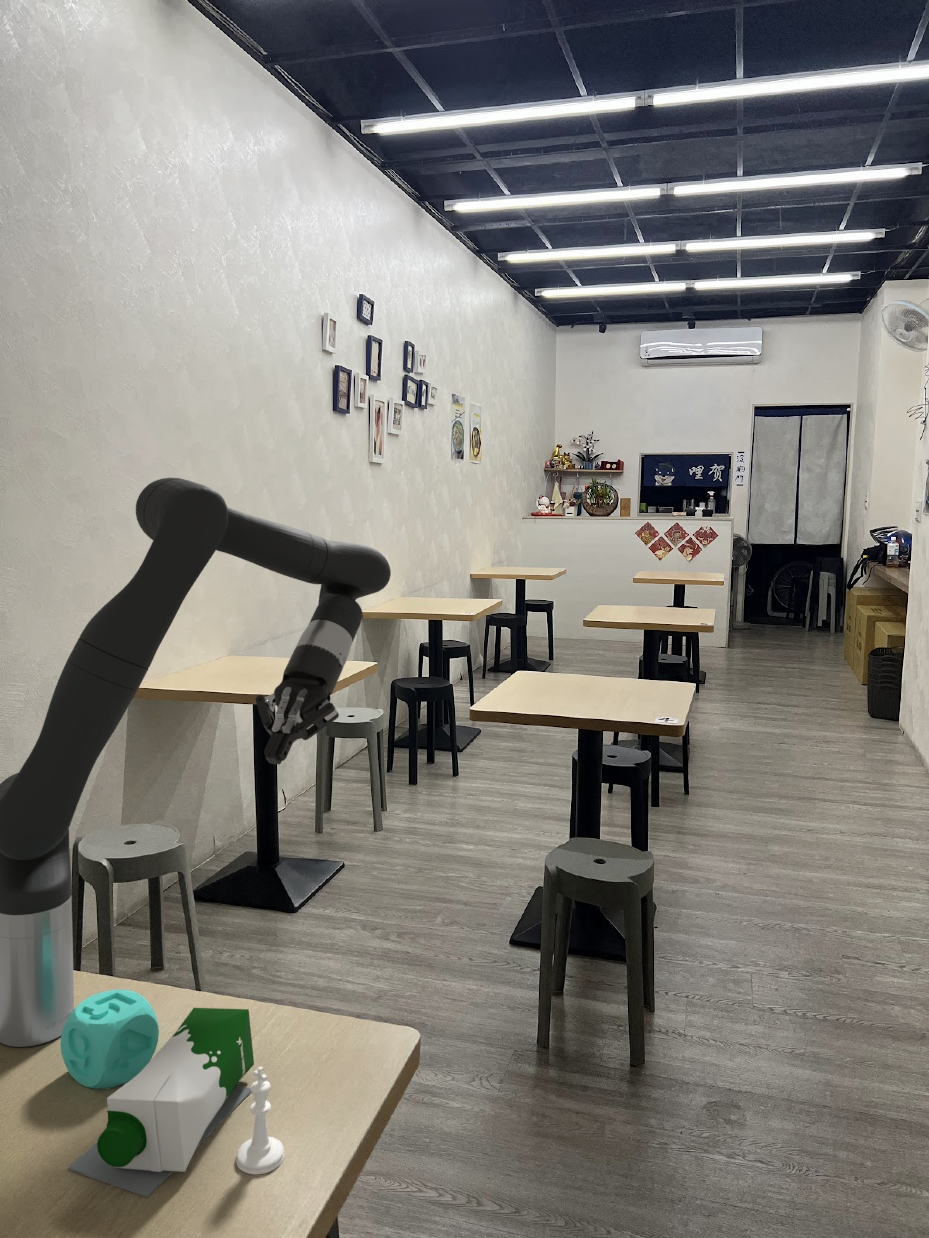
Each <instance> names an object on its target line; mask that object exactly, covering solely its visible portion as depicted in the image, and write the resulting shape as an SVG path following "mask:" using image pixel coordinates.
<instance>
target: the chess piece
mask: <svg viewBox="0 0 929 1238" xmlns="http://www.w3.org/2000/svg"><path fill="white" fill-rule="evenodd" d="M264 1069H265V1068H264V1067H263V1066H262V1065H260V1066H258V1067H257V1069H255V1070H254V1071H253V1076H254V1077H255V1078H257V1080H256V1081H254V1082H253V1083H252V1084H251V1085H250V1088H251V1094H252V1097H253V1100H254V1102H253V1103H251V1105H250V1108H249V1111H250V1113H251V1114H252V1115H255V1118H254V1127H253V1135H252V1138H250V1139H248V1140H246V1141H245V1142H243V1143H242V1144H241V1145H240V1146H239V1147H238V1150H237V1153H236V1159H235V1161H236V1162H235V1163H236V1166H237V1168H239V1170H240V1171H242V1172H243V1173H246V1174H247V1175H248V1174H249V1175H264V1174H267V1173H269V1172H272V1171H274V1170H276V1169H277V1168H278V1167H280V1165H281V1164H282V1163H283V1162H284V1159H285V1148H284V1144H283V1143H282V1142H281V1141H280V1140H279V1139H277V1137H273V1136H269V1132H268V1126H267V1124H268V1123H267V1116H266V1114H268V1113H269V1112H270V1111H271V1109H272V1105H271V1103H270V1101H269V1100H267V1099H268V1096H269V1092H270V1090H271V1083H270V1082H269V1081H268V1075H266V1074H265V1070H264Z"/></svg>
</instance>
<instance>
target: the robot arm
mask: <svg viewBox="0 0 929 1238" xmlns="http://www.w3.org/2000/svg"><path fill="white" fill-rule="evenodd" d="M135 517H136V520H137V523H138V525H139V527H140V529H141V531H142V532H143V534H145V535H146V537H148V539H151V540H152V542H151V544H150V547H149V548H148V551H147V553H146V555H145V556H144V559H143V561H142V563H141V564H140V566H139V568H138V570H137V571H136V572H135V574H134V575H133V577H132V578H131V579H130V581H129V582H128V583H127V584H126V585H125V586H124V587H123V588H122V589H121V590H120V591H119V592H118V593H117V594H116V595H114V596H113V597H112V598H111V599H109V601H108V602H106V604H104V606H102V607H101V608H100V609H99V610H98V611H97V612H96V613H95V614H94V616H92V617H91V619H89V621H88V622H87V624H86V625H85V626H84V629H82V632H81V634H79V637H78V639H77V641H75V642H76V643H75V644H74V646H73V648H72V651H71V652H70V654H69V656H68V658H67V660H66V662H65V664H64V666H63V668H62V671H61V673H60V676H59V678H58V680H57V683H56V685H55V688H54V691H53V694H52V696H51V700H50V702H49V705H48V709H47V712H46V714H45V719H44V722H43V725H42V727H41V730H40V734H39V736H38V738H37V740H36V742H35V745H34V746H33V748H32V749H31V751H30V754H29V755H28V756H27V759H25V761H24V763H23V765H22V766H21V768H20V770H19V771H18V772H16V773H14V774H11V775H10V776H8V777H7V778H5V779H4V780H2V782H0V1043H1V1044H2V1045H5V1046H9V1047H14V1048H15V1047H16V1048H21V1047H22V1048H23V1047H24V1048H26V1047H33V1046H38V1045H42V1044H44V1043H49V1042H51V1041H53V1040H55V1039H57V1038H59V1037H61V1035H62V1031H63V1028H64V1026H65V1023H66V1021H67V1019H68V1018H69V1016H70V1014H71V1013H72V1012H73V1010H74V1009H75V999H74V998H75V989H74V988H75V987H74V985H75V984H74V983H75V982H74V947H73V946H74V941H73V940H74V939H73V938H74V937H73V910H72V909H73V906H72V905H73V904H72V901H73V900H72V870H71V869H72V868H71V852H70V850H71V849H70V827H71V824H72V821H73V818H74V815H75V813H76V810H77V808H78V807H77V806H78V804H79V802H80V799H81V796H82V794H83V792H84V789H85V787H86V784H87V783H88V780H89V777H90V775H91V773H92V771H93V768H94V766H95V764H96V763H97V761H98V758H99V757H100V755H101V753H102V751H103V750H104V749H105V747H106V745H107V743H108V742H109V740H110V739H111V737H112V735H113V733H114V732H115V731H116V728H117V727H118V725H119V723H120V722H121V719H123V717H124V715H125V713H126V711H127V710H128V707H129V706H130V704H131V702H132V701H133V699H134V697H135V695H136V694H137V692H138V690H139V688H140V687H141V684H142V682H143V680H144V679H145V677H146V674H147V673H148V671H149V668H150V667H151V664H152V662H153V661H154V658H155V656H156V654H157V652H158V650H159V648H160V646H161V644H162V642H163V640H164V638H165V636H166V635H167V633H168V631H169V629H170V627H171V625H172V624H173V622H174V620H175V618H176V617H177V613H178V612H179V610H180V608H181V606H182V604H183V602H184V601H185V598H186V597H187V595H188V594H189V592H190V591H191V589H192V588H193V586H194V584H195V583H196V581H197V579H198V578H199V576H200V575H201V573H202V572H203V571H204V569H205V567H206V566H207V564H208V563H209V561H210V560H211V559H212V557H213V555H214V554H215V552H216V551H217V552H221V553H224V554H227V555H230V556H233V557H236V558H239V559H241V560H244V561H246V562H249V563H250V564H251V563H252V564H254V565H256V566H259V567H262V568H264V569H266V570H269V571H271V572H273V573H275V574H276V573H277V574H279V575H283V576H286V577H289V578H292V579H294V580H298V581H301V582H304V583H308V584H312V585H320V588H319V589H320V590H319V595H318V605H317V607H316V608H315V610H314V612H313V614H312V616H311V619H310V621H309V623H308V624H307V627H306V628H305V629H304V631H303V632H302V633H301V635H300V637H299V640H298V642H297V643H296V646H295V648H294V650H293V652H292V654H291V655H290V658H289V660H288V662H287V664H286V666H285V667H284V668H285V669H284V671H283V675H282V680H281V682H280V683H279V684H278V685H277V686H276V687H275V689H274V691H273V693H271V694H270V695H267V696H265V697H264V695H262V694H259V695H257V696H256V697H255V703H256V706H257V711H258V713H259V716H260V719H261V723H262V726H263V727H264V728H265V730H266V732H267V733H268V734H269V736H270V737H269V739H268V742H267V744H266V746H265V748H264V750H263V754H264V757H265V759H266V761H267V762H268V764H273V765H279V766H280V765H281V764H282V762H283V761H284V762H285V760H286V759H287V757H288V755H289V753H290V750H291V748H292V746H293V744H294V743H296V741H297V740H301V739H302V740H303V741H308V740H309V739H311V738H312V737H314V736H315V735H316V734H318V733H319V732H320V731H321V730H323V729H324V728H326V727H328V726H329V725H330V724H331V723H333V722H334V721H335V720H337V719H339V717H340V715H339V712H338V710H337V708H336V706H334V704H333V702H331V700H332V699H331V695H332V694H333V692H334V690H335V688H336V687H337V683H338V682H339V681H338V680H339V679H340V676H341V674H342V672H343V669H344V667H345V665H346V664H347V663H346V662H347V661H348V658H349V655H350V652H351V647H352V645H353V642H354V641H355V638H356V636H357V633H358V631H359V628H360V626H361V624H362V620H363V611H362V607H361V605H360V604H359V603H358V602H357V601H356V600H357V599H359V598H363V597H367V596H369V595H373V594H377V593H378V592H380V591H382V590H383V589H384V588H386V587H387V585H388V584H389V582H390V579H391V571H392V570H391V567H390V564H389V561H388V560H387V558H386V557H385V556H384V555H383V553H381V552H380V551H378V550H377V549H375V548H373V547H371V546H367V545H363V544H357V543H353V542H352V543H351V542H347V541H346V542H343V541H334V540H328V539H325V538H323V537H320V536H317V535H315V534H312V533H309V532H307V531H304V530H301V529H298V528H295V527H292V526H289V525H285V524H283V523H282V524H281V523H279V522H274V521H271V520H267V519H264V518H260V517H258V516H254V515H251V514H247V513H245V512H242V511H240V510H236V509H234V508H232V507H229V506H228V505H227V504H226V500H225V499H224V497H223V496H222V495H221V493H219V492H218V491H216V490H215V489H213V488H212V487H210V486H207V485H205V484H202V483H201V484H200V483H198V482H195V481H192V480H188V479H185V478H180V477H163V478H160V479H156V480H153V481H152V482H150V483H149V484H148V485H147V486H145V487H144V488H143V490H141V492H140V494H139V496H138V497H137V500H136V504H135ZM276 706H277V710H276V711H275V708H276ZM273 712H275V717H274V715H273Z"/></svg>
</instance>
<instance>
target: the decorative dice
mask: <svg viewBox="0 0 929 1238" xmlns="http://www.w3.org/2000/svg"><path fill="white" fill-rule="evenodd" d="M159 1035H160V1029H159V1022H158V1018H157V1016H156V1012H155V1011H154V1009H153V1006H152V1005H151V1004H150V1002H149V1001H148V1000H147V999H146V998H145V997H144V996H143V995H141V994H140V993H138V992H136V991H132V990H129V989H112V990H111V989H110V990H106V991H101V992H98V993H96V994H92V995H91V996H88V997H86V998H85V999H83V1000H82V1001H81V1002H80V1003H79V1004H77V1006H76V1007H74V1010H73V1012H72V1013H71V1014H70V1016H69V1018H68V1019H67V1021H66V1023H65V1026H64V1028H63V1031H62V1035H61V1036H60V1051H61V1056H62V1057H61V1058H62V1060H63V1063H64V1065H65V1067H66V1069H67V1071H68V1072H69V1074H70V1076H71V1077H72V1078H73V1079H74V1080H75V1081H76V1082H77V1083H79V1084H80V1085H82V1086H84V1087H86V1088H90V1089H95V1090H96V1089H97V1090H99V1089H100V1090H101V1089H110V1088H111V1089H112V1088H115V1087H116V1088H117V1087H119V1086H123V1085H125V1084H126V1083H127V1082H129V1081H130V1080H131V1079H133V1078H134V1077H135V1076H137V1075H138V1074H139V1073H140V1072H141V1071H142V1070H143V1069H144V1067H145V1066H146V1065H147V1064H148V1063H149V1062H150V1061H151V1060H152V1058H153V1057H154V1055H155V1052H156V1048H157V1047H158V1042H159Z"/></svg>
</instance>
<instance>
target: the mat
mask: <svg viewBox="0 0 929 1238" xmlns="http://www.w3.org/2000/svg"><path fill="white" fill-rule="evenodd" d="M250 1094H252V1092H251V1087H247V1086H244V1085H239V1084H237V1085H236V1086H235V1088H234V1089H233V1090H232V1092H231V1093H230V1095H229V1096H228V1098H227V1099H226V1100H225V1102H224V1103H223V1105H222V1106H221V1108H220V1109H219V1111H218V1112H217V1113H216V1115H215V1116H214V1118H213V1119H212V1121H211V1122H210V1124H209V1125H208V1126H207V1128H206V1129H205V1131H204V1133H203V1135H202V1137H201V1139H200V1141H199V1143H198V1145H197V1148H198V1147H199V1146H200V1145H201V1144H202V1143H203V1142H204V1141H205V1140H206V1139H207V1138H208V1137H209V1136H210V1135H211V1134H212V1133H213V1132H214V1131H215V1130H216V1129H217V1128H218V1127H219V1126H220V1125H221V1123H223V1121H224V1120H225V1119H226V1118H228V1117H229V1116H230V1115H231V1113H232V1112H234V1110H236V1108H237V1107H239V1105H240V1104H242V1102H243V1101H245V1099H246V1098H247V1097H248V1096H249V1095H250ZM67 1170H69V1171H70V1172H71V1171H72V1172H74V1173H77V1174H80V1175H83V1176H85V1177H89V1178H91V1179H94V1180H95V1181H96V1180H97V1181H99V1182H103V1183H105V1184H107V1185H108V1184H109V1185H111V1186H114V1187H116V1188H120V1189H123V1190H125V1191H128V1192H130V1193H132V1194H136V1195H139V1196H141V1197H144V1198H149V1197H150V1196H151V1195H152V1194H153V1193H154V1192H155V1191H156V1190H157V1189H158V1188H159V1186H161V1185H162V1183H164V1182H165V1180H167V1178H169V1176H170V1175H171V1174H172V1173H174V1171H165V1170H163V1171H162V1172H154V1171H150V1170H137V1169H125V1168H115V1167H113V1166H111V1165H109V1164H107V1163H106V1162H105V1161H104V1160H103V1159H102V1158H101V1157H100V1155H99V1153H98V1149H97V1142H96V1143H94V1144H93V1145H91V1146H90V1148H89V1149H87V1150H86V1151H85V1152H84V1153H83V1154H82V1155H80V1156H79V1157H78V1158H77V1159H76V1160H74V1161H73V1162H72V1163H71V1164H70V1165H69V1166H68V1167H67Z"/></svg>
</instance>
